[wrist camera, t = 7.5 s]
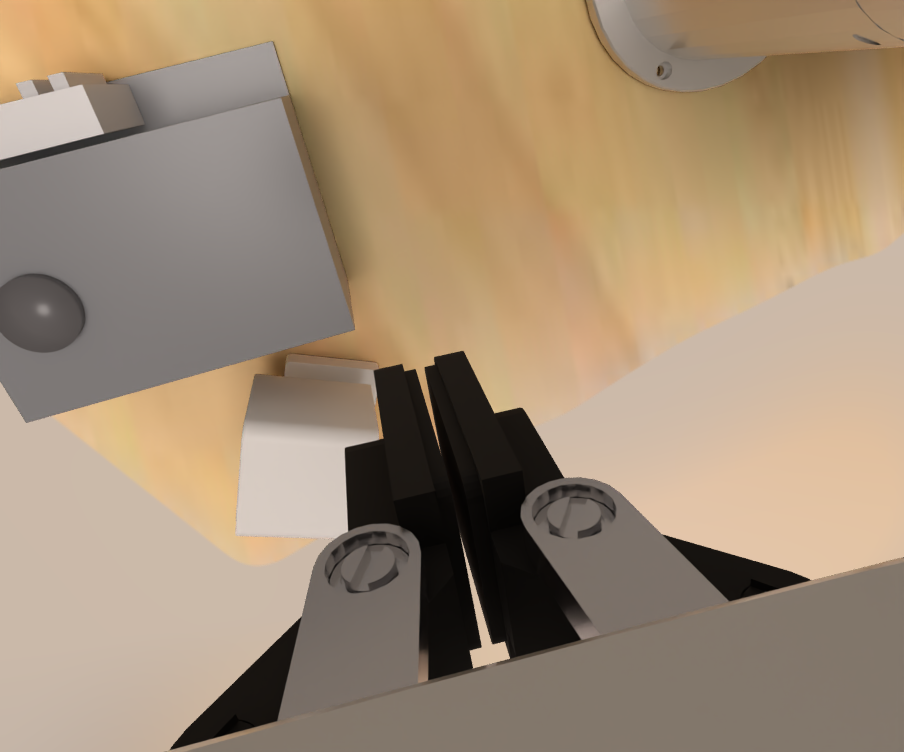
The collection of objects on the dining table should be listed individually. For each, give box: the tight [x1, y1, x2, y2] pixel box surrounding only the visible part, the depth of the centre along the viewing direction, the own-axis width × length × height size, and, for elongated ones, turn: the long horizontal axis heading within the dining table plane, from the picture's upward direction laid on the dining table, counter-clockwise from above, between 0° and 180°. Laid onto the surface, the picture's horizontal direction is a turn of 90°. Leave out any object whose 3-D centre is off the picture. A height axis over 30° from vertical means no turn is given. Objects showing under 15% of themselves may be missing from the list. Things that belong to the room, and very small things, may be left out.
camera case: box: [0, 41, 355, 423], centre depth 29 cm, size 15×12×9 cm
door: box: [0, 72, 145, 161], centre depth 27 cm, size 8×2×6 cm, turn 103°
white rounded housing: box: [236, 354, 379, 539], centre depth 34 cm, size 6×7×10 cm
